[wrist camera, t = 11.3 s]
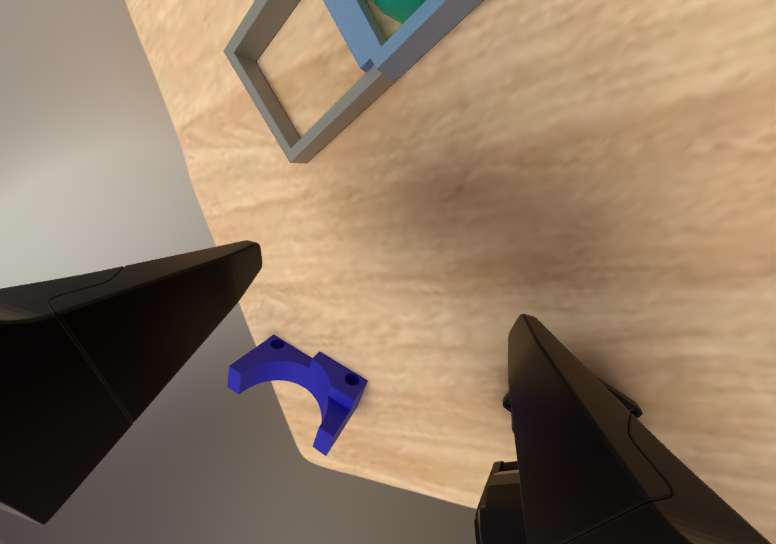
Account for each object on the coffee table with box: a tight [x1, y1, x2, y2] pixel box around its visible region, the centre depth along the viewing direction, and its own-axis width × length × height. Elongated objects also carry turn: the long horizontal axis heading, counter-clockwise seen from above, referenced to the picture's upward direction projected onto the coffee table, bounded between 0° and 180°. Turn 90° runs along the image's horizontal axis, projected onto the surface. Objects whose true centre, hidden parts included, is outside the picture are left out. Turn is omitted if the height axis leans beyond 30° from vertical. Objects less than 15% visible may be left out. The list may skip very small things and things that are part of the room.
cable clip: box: [228, 335, 367, 456], centre depth 28 cm, size 12×4×6 cm, turn 72°
